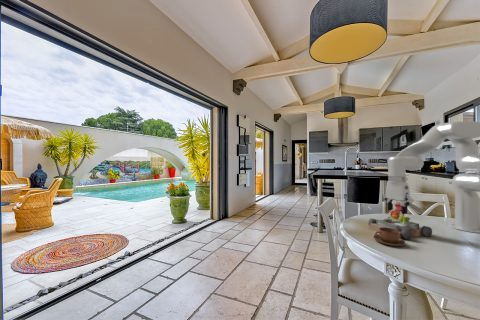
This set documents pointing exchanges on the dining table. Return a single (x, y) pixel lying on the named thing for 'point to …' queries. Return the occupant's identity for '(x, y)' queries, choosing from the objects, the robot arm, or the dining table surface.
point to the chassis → (401, 228)
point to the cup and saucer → (388, 237)
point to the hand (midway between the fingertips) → (397, 211)
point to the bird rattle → (398, 215)
